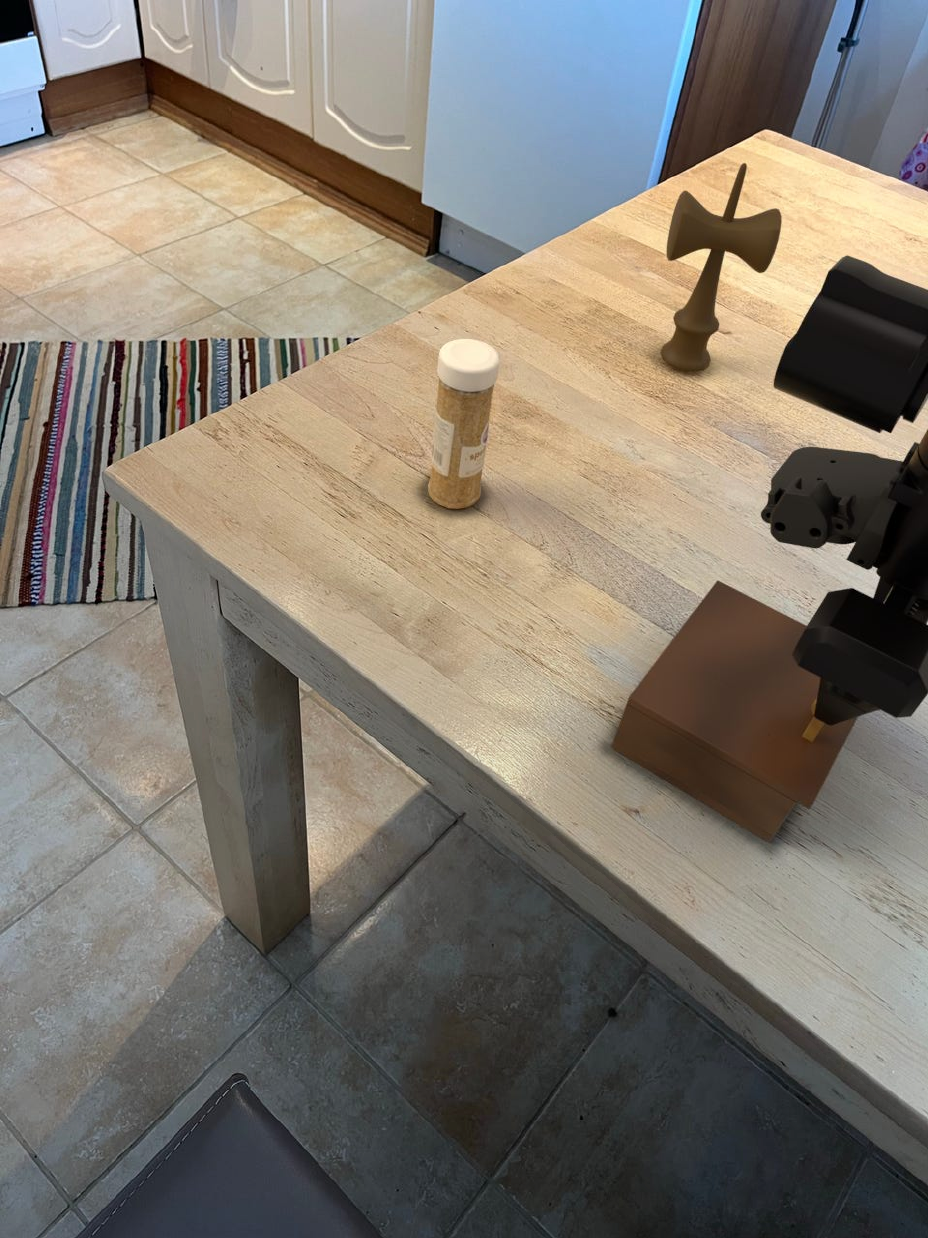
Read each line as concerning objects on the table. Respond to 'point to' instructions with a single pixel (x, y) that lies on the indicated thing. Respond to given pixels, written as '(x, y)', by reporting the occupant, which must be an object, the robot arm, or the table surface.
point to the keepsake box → (701, 774)
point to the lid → (744, 694)
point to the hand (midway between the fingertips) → (849, 671)
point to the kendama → (713, 266)
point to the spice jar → (461, 421)
